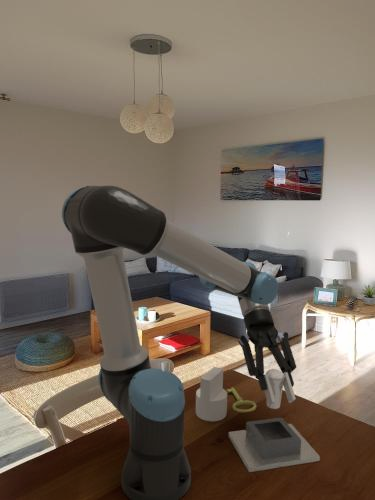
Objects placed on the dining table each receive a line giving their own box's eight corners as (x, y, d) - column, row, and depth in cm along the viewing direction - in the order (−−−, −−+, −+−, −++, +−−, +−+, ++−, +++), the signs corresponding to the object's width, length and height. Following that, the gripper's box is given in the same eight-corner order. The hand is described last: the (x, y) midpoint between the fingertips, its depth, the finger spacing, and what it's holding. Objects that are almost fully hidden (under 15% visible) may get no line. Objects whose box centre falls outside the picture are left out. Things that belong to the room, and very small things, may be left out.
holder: (249, 472, 91) (249, 453, 90) (228, 436, 104) (228, 419, 103) (319, 460, 95) (320, 442, 94) (290, 427, 108) (291, 411, 108)
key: (232, 392, 128) (232, 386, 128) (259, 409, 118) (259, 403, 118) (214, 398, 124) (215, 392, 124) (241, 417, 114) (241, 410, 114)
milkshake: (276, 414, 95) (279, 374, 93) (259, 404, 99) (262, 366, 98) (289, 408, 97) (291, 369, 96) (272, 399, 102) (274, 362, 100)
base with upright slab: (218, 424, 109) (219, 383, 108) (190, 415, 114) (190, 375, 112) (231, 410, 117) (233, 371, 115) (204, 401, 121) (205, 364, 120)
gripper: (281, 318, 113) (308, 402, 99) (222, 322, 108) (242, 411, 95) (291, 305, 107) (322, 393, 93) (229, 309, 103) (252, 401, 89)
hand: (282, 402), depth 94 cm, fingers closed on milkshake, 4 cm apart
